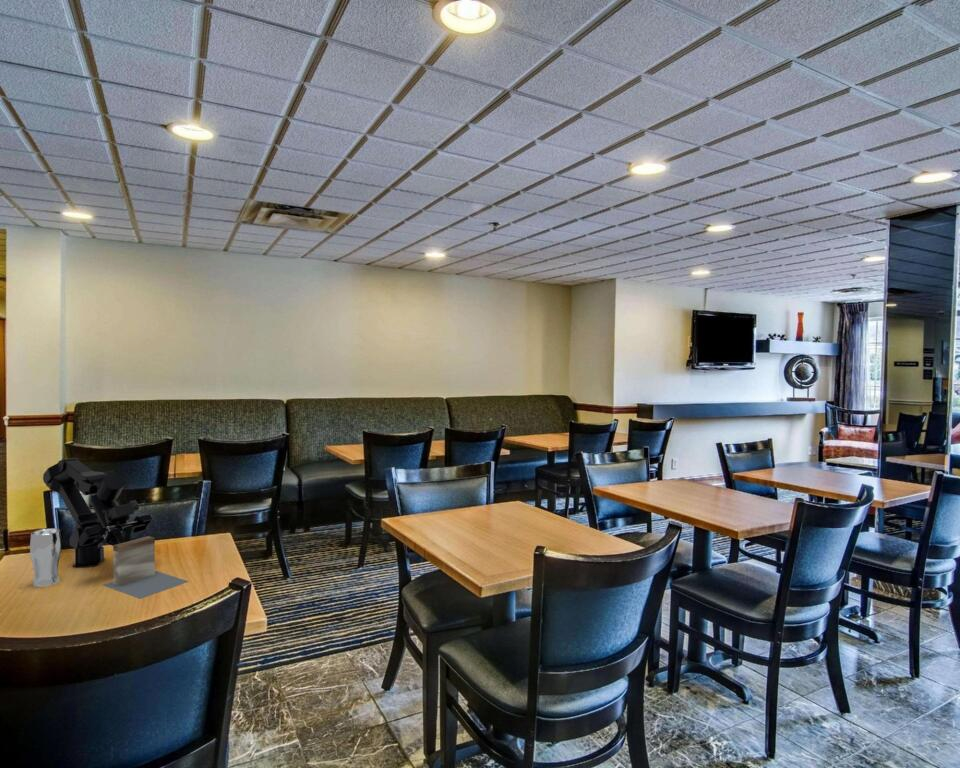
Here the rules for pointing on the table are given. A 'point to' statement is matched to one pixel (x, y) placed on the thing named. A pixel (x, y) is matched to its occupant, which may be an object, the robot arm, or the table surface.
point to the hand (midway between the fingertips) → (129, 552)
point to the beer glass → (45, 556)
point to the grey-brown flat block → (134, 560)
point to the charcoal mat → (148, 585)
